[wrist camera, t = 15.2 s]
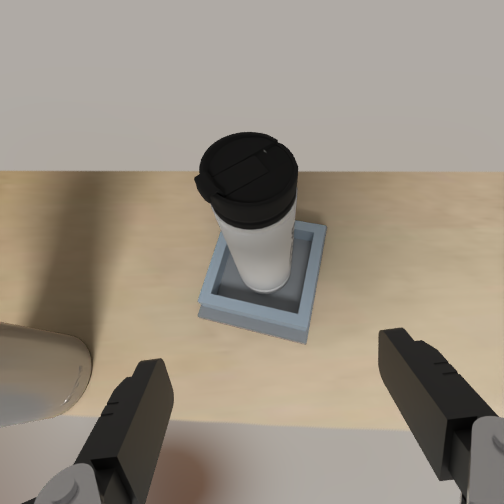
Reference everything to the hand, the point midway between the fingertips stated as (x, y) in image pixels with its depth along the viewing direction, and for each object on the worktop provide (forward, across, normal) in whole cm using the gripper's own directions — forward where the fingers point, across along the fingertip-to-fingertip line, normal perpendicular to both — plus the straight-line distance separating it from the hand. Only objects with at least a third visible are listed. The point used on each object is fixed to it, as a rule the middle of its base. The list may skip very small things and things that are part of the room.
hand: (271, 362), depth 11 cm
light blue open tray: (+25, 0, +8) cm, 26 cm away
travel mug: (+24, 0, +7) cm, 25 cm away
